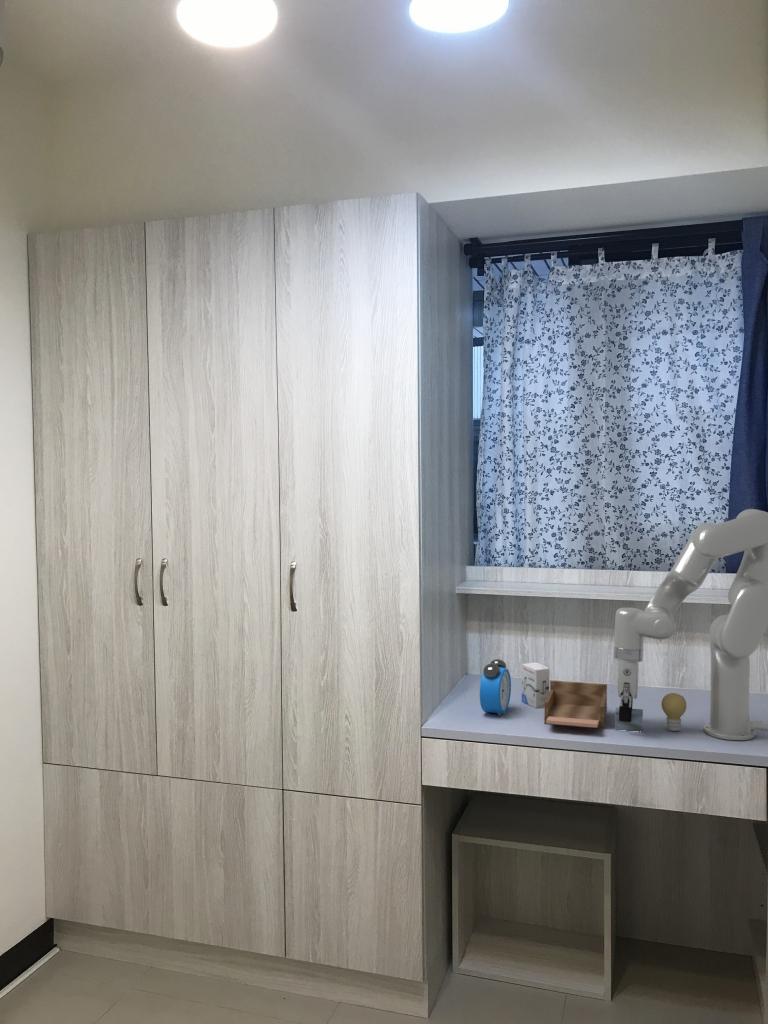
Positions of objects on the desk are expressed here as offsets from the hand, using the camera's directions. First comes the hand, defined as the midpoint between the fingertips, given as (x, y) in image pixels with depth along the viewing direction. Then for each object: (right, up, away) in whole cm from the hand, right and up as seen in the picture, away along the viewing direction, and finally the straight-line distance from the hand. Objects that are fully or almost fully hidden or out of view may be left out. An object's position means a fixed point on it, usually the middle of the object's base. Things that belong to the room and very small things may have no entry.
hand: (625, 716), depth 226 cm
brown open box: (-11, -3, +10) cm, 15 cm away
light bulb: (+13, -4, -2) cm, 13 cm away
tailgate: (-14, -1, +2) cm, 14 cm away
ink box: (-20, -3, +25) cm, 32 cm away
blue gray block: (+1, -4, 0) cm, 4 cm away
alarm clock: (-33, -3, +16) cm, 37 cm away
